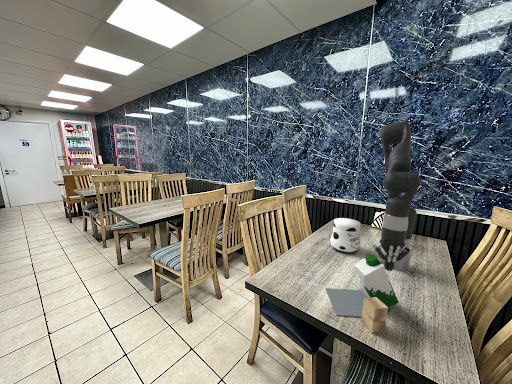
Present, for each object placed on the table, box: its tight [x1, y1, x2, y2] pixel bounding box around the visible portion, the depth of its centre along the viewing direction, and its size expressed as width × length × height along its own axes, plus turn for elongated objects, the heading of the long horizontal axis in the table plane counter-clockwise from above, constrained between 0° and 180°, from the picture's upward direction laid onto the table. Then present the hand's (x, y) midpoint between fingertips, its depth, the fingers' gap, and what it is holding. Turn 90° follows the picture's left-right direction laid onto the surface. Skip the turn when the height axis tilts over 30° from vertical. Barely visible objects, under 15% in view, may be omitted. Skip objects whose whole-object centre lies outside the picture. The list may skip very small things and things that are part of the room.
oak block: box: [360, 297, 389, 334], centre depth 68 cm, size 5×5×9 cm
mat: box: [325, 287, 369, 318], centre depth 79 cm, size 16×15×1 cm
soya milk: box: [353, 253, 400, 309], centre depth 76 cm, size 9×9×20 cm
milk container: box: [330, 217, 362, 254], centre depth 125 cm, size 17×17×18 cm
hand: (388, 269), depth 76 cm, fingers closed
